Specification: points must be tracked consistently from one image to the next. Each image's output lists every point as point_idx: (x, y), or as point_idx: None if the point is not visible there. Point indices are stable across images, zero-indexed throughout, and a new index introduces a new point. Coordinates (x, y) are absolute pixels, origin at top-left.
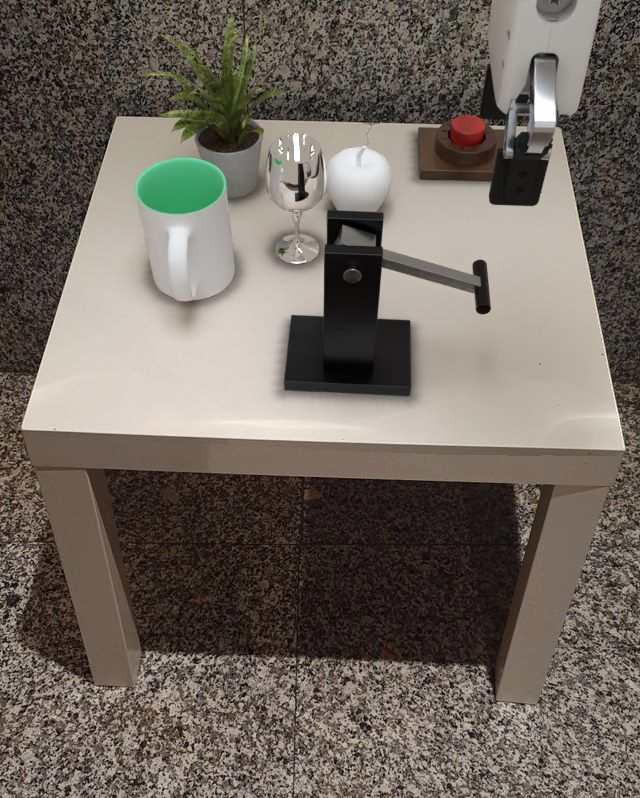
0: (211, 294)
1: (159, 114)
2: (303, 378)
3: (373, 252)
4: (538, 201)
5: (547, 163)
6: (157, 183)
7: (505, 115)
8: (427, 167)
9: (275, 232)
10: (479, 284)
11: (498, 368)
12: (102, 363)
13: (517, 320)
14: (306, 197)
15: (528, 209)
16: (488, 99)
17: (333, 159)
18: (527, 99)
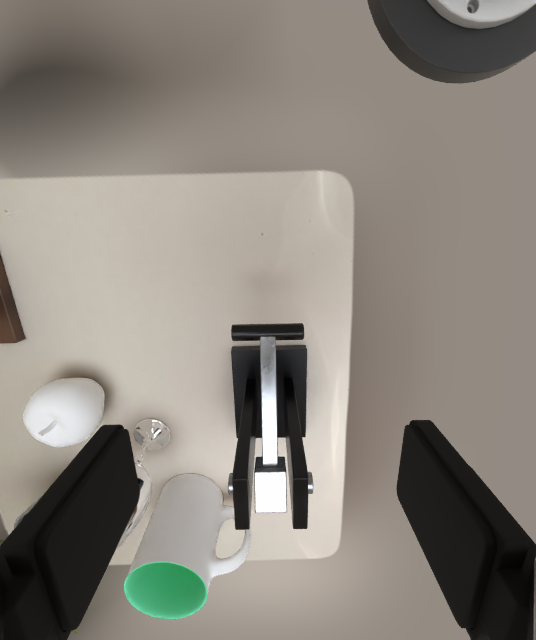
0: (216, 486)
1: (75, 632)
2: (301, 425)
3: (304, 487)
4: (432, 422)
5: (503, 510)
6: (152, 590)
7: (129, 465)
8: (9, 336)
9: (135, 451)
10: (273, 338)
11: (270, 272)
12: (287, 533)
13: (209, 251)
14: (144, 485)
15: (40, 227)
16: (117, 535)
17: (54, 446)
18: (94, 459)
